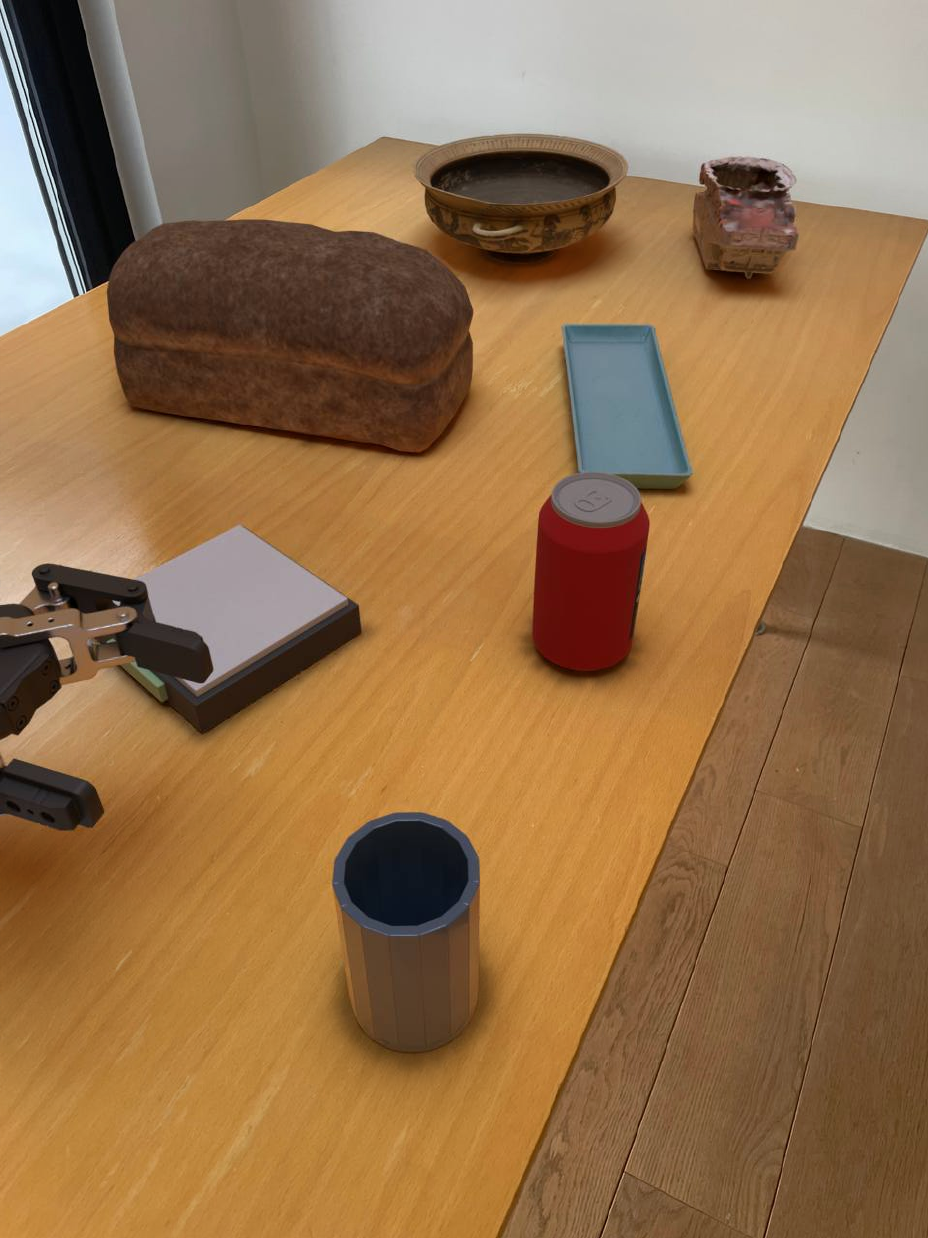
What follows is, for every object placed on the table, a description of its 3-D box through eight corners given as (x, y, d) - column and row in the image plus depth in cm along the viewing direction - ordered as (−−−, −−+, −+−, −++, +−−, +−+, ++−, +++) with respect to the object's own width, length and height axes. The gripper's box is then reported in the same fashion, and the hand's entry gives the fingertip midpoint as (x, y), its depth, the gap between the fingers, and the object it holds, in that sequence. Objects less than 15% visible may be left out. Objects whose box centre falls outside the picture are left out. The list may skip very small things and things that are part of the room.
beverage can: (652, 645, 68) (676, 497, 60) (585, 695, 64) (602, 544, 56) (577, 598, 71) (590, 453, 64) (510, 643, 68) (515, 494, 60)
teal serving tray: (690, 496, 81) (695, 469, 79) (576, 495, 81) (579, 469, 80) (651, 347, 101) (654, 323, 99) (559, 346, 101) (561, 323, 99)
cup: (412, 1081, 46) (403, 965, 39) (324, 992, 49) (302, 871, 43) (504, 989, 49) (510, 869, 43) (416, 912, 53) (409, 789, 46)
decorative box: (799, 237, 123) (817, 153, 116) (815, 306, 108) (837, 214, 101) (689, 231, 124) (700, 147, 118) (690, 299, 109) (703, 207, 103)
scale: (195, 738, 62) (186, 703, 60) (85, 639, 68) (73, 604, 66) (361, 632, 69) (358, 598, 67) (247, 551, 76) (241, 518, 74)
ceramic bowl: (451, 200, 133) (450, 118, 126) (633, 215, 128) (642, 131, 122) (383, 293, 111) (377, 199, 104) (599, 315, 106) (608, 219, 100)
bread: (439, 466, 84) (435, 282, 74) (105, 410, 92) (59, 235, 81) (487, 385, 95) (490, 214, 84) (184, 340, 102) (152, 177, 92)
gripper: (-329, 690, 39) (21, 802, 35) (-70, 491, 49) (226, 560, 45) (-239, 811, 44) (77, 920, 40) (-21, 608, 54) (249, 679, 50)
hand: (155, 729), depth 42 cm, fingers open, 8 cm apart
